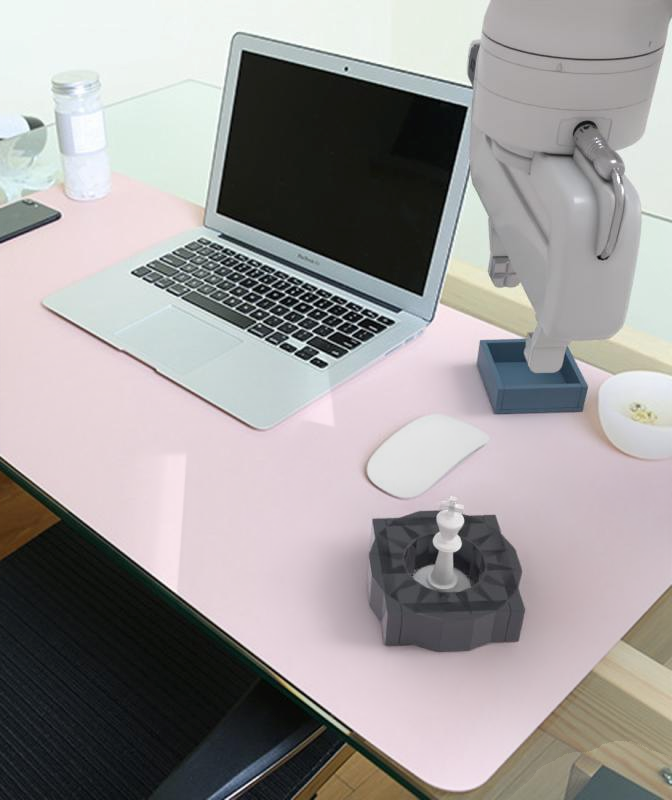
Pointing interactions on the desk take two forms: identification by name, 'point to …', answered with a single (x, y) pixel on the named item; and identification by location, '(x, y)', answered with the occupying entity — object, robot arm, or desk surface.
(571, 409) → the basin tray
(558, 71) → the robot arm
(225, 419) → the desk surface
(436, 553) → the dark grey ring block
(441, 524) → the chess piece
